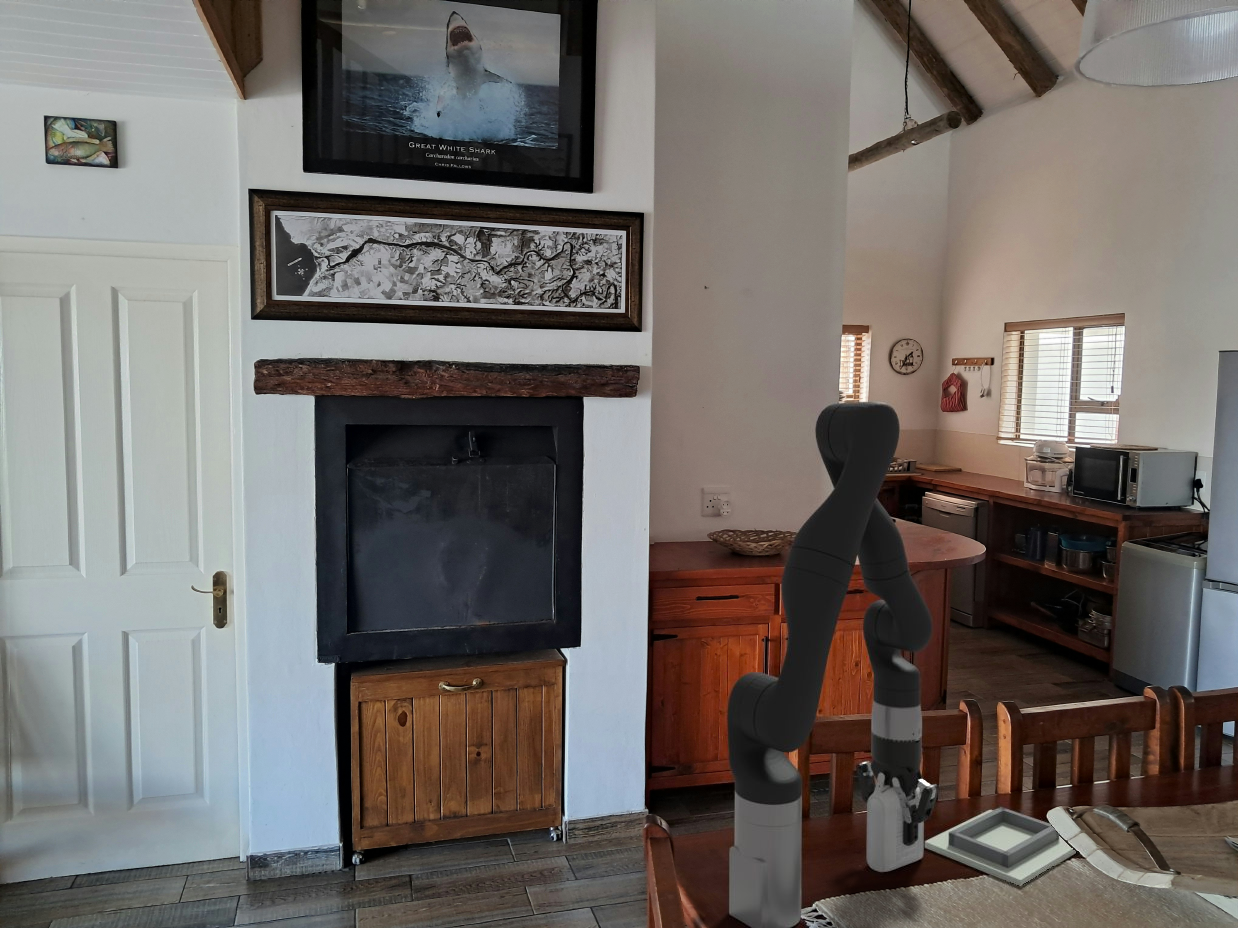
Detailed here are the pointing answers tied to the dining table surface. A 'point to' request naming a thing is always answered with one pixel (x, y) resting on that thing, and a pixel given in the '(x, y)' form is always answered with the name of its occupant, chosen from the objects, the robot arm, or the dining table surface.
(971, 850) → the dock
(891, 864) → the grey rounded block
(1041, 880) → the dining table surface
